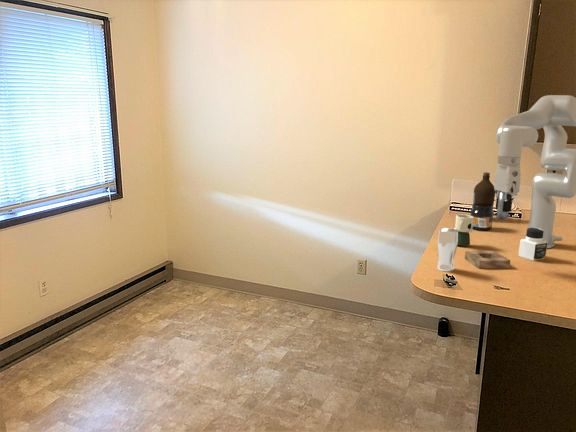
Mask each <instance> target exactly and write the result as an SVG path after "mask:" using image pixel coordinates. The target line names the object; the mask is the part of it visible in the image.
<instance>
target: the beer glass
mask: <svg viewBox="0 0 576 432" xmlns="http://www.w3.org/2000/svg"><path fill="white" fill-rule="evenodd" d="M438 229H439V232H438V237H437V250H438V253H437V255H438V262H437V265H436V269H437V270H438V271H440V272H446V273H447V272H450V273H451V272H454V270H455V266H454V265H455V264H454V260H455V257H456V256H455V255H456V252H457V248H458V230H456V229H455V228H452V227H440V228H438Z"/></svg>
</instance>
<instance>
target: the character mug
mask: <svg viewBox="0 0 576 432" xmlns="http://www.w3.org/2000/svg"><path fill="white" fill-rule="evenodd" d="M470 215H471V214H456V215H455V225H454V229H456V230H458V244H457V246H458V245H459V246H460V247H469V246H470V245H471V242H470V241H471V238H470V237H471V235H470V232H472V231H473V229H472V228H473V219H474V217H473V216H470Z"/></svg>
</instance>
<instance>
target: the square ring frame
mask: <svg viewBox="0 0 576 432" xmlns="http://www.w3.org/2000/svg"><path fill="white" fill-rule="evenodd" d="M464 259H465V260H466V261H468V262H469V263H470V264H472V265H474V266H475V268H477V269H510V267H511V260H510V259H509V258H507V257H505V256H504V255H502V254H500V253H499V252H497V251H496V250H470V251H469V250H466V251H465V252H464Z"/></svg>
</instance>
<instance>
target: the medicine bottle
mask: <svg viewBox="0 0 576 432" xmlns="http://www.w3.org/2000/svg"><path fill="white" fill-rule="evenodd" d="M543 233H544V231H543V230H542V229H539V228H529V227H528V228H527V229H526V235H525V238H521V239H520V241H519V248H518V257H519V258H520V257H521V258H524V259H527V260H529V261H532V262H535V261H539V260H545V259H546V256H547V249H548V248H547V242H546V241H543ZM526 238H527V239H526Z"/></svg>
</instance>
